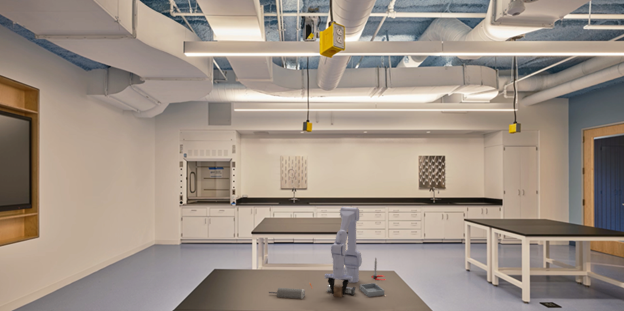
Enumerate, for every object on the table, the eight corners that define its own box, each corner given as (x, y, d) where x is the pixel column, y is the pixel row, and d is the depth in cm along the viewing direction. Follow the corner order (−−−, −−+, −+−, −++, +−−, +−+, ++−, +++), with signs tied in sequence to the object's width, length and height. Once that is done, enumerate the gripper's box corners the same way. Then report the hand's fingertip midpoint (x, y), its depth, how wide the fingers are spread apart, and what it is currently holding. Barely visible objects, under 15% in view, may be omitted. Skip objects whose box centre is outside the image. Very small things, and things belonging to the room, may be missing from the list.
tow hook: (384, 276, 208) (370, 277, 205) (384, 255, 208) (371, 256, 205) (391, 281, 200) (377, 282, 197) (392, 259, 200) (378, 259, 197)
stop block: (333, 296, 174) (333, 286, 174) (335, 293, 178) (335, 284, 178) (341, 297, 173) (341, 287, 173) (343, 294, 177) (343, 284, 177)
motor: (310, 301, 170) (310, 291, 171) (267, 298, 174) (267, 288, 175) (317, 291, 193) (317, 282, 194) (279, 289, 196) (279, 280, 197)
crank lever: (325, 292, 180) (325, 286, 180) (328, 289, 184) (328, 283, 184) (353, 295, 175) (353, 289, 175) (355, 292, 179) (355, 286, 179)
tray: (359, 289, 184) (359, 284, 184) (374, 287, 186) (374, 282, 187) (368, 297, 173) (368, 292, 174) (384, 295, 176) (384, 290, 176)
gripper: (322, 267, 174) (322, 294, 174) (350, 270, 169) (350, 298, 169) (326, 263, 181) (326, 289, 181) (353, 266, 176) (353, 293, 176)
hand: (338, 293), depth 175 cm, fingers open, 5 cm apart
